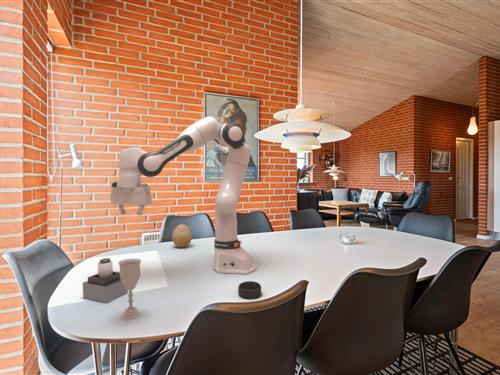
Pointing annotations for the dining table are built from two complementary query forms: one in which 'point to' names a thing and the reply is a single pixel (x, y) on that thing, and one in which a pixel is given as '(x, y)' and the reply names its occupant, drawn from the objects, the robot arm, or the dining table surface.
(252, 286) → the smart speaker
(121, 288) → the motor block
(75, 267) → the dining table surface
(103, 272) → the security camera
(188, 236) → the fossilized egg
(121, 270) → the chalice
